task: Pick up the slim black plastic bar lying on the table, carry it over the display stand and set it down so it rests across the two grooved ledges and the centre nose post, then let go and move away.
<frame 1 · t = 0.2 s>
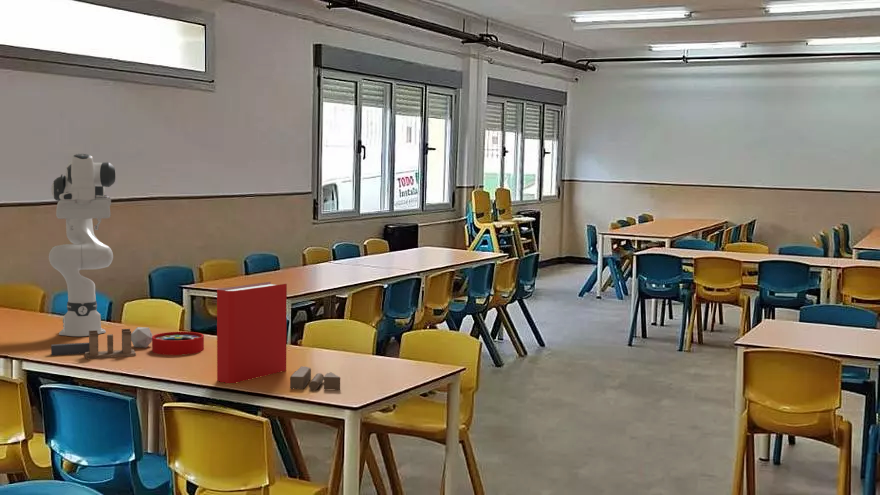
hand: (83, 230, 373), 47 cm above the table, tool pointing down, fingers open, 8 cm apart
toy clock: (178, 351, 376), on the table
book: (251, 376, 334), on the table
die: (141, 347, 381), on the table
display stand: (110, 355, 363), on the table
wooden block set: (318, 385, 323), on the table
frame bar: (70, 354, 365), on the table
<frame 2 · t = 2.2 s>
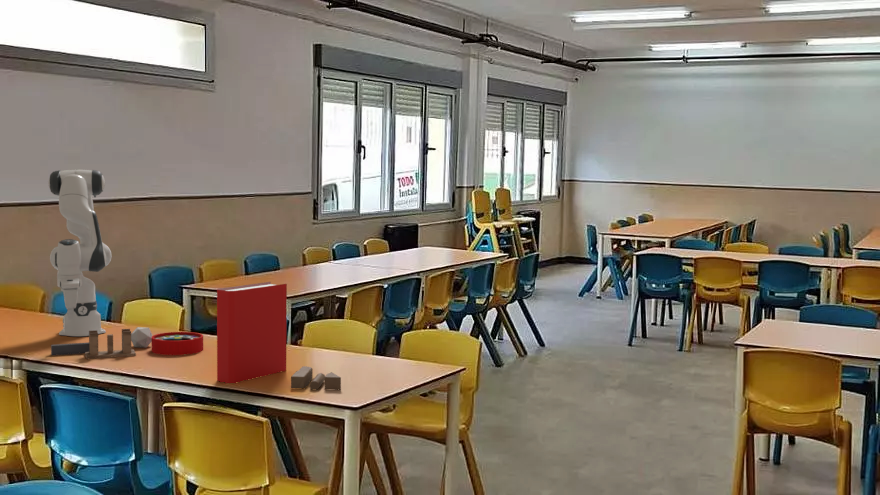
hand: (70, 317, 363), 14 cm above the table, tool pointing down, fingers open, 8 cm apart
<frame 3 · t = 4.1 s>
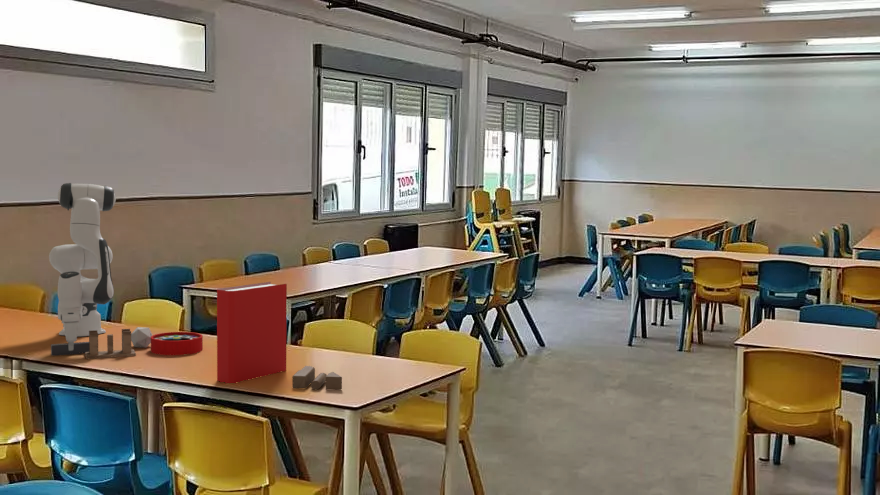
hand: (70, 349, 365), 2 cm above the table, tool pointing down, fingers closed on frame bar, 3 cm apart
frame bar: (70, 353, 365), on the table, touching gripper
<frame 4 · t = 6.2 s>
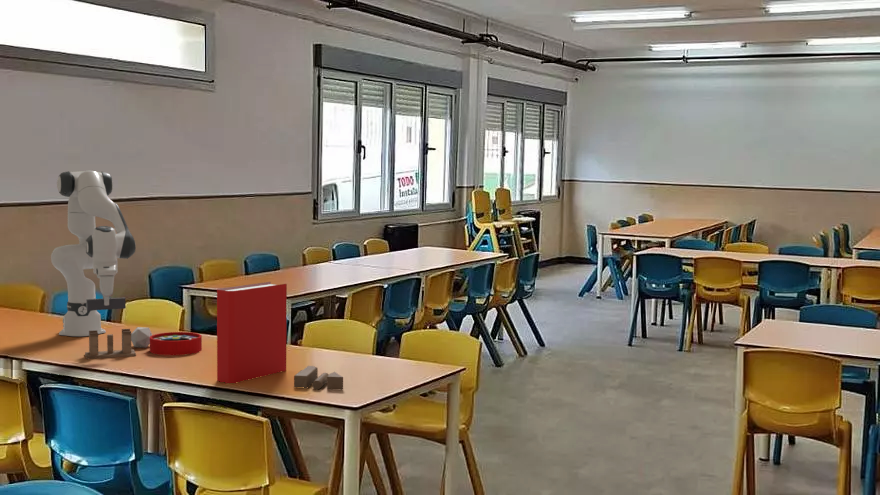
hand: (106, 304, 361), 20 cm above the table, tool pointing down, fingers closed on frame bar, 3 cm apart
frame bar: (106, 309, 361), point 18 cm above the table, touching gripper
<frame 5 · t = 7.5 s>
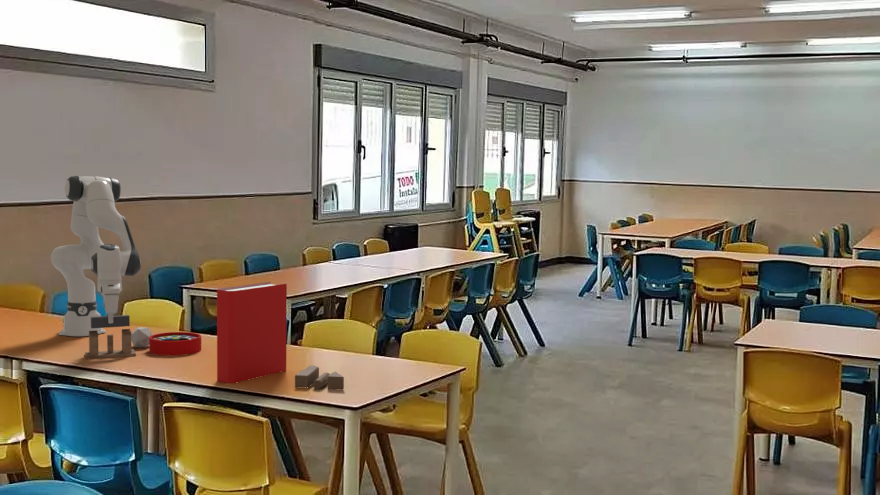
hand: (110, 322, 362), 13 cm above the table, tool pointing down, fingers closed on frame bar, 3 cm apart
frame bar: (110, 326, 362), point 11 cm above the table, touching gripper
when the fingers open (11 cm above the table, at t = 8.5 s): frame bar drops 1 cm, resting on display stand.
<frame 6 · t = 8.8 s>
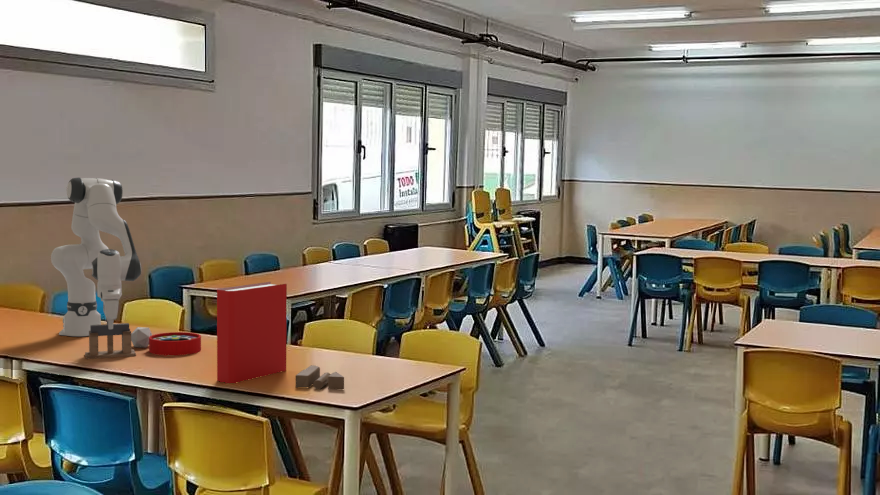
hand: (110, 327, 362), 11 cm above the table, tool pointing down, fingers open, 5 cm apart
frame bar: (109, 334, 363), point 8 cm above the table, touching display stand
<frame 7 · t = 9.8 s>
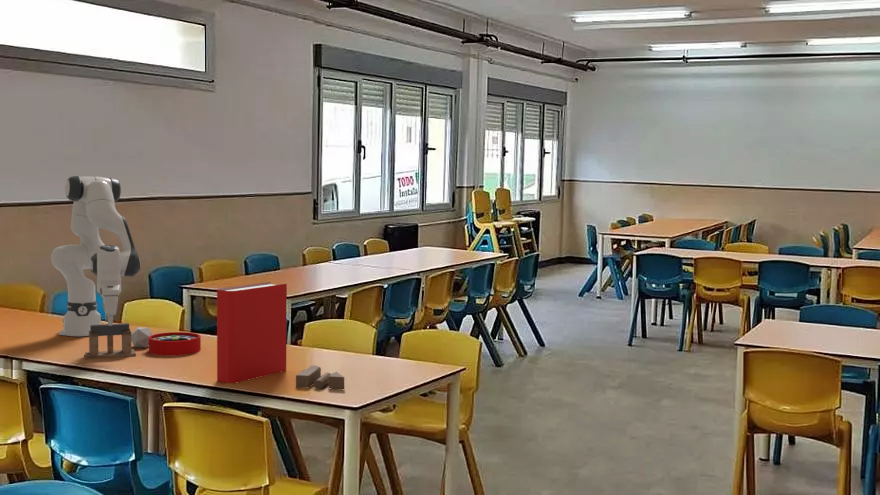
hand: (109, 323, 362), 13 cm above the table, tool pointing down, fingers open, 8 cm apart
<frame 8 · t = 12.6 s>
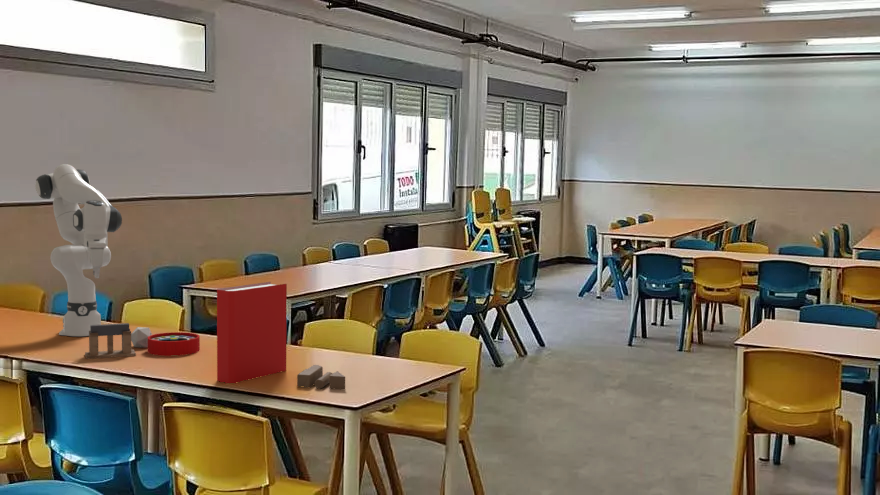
hand: (96, 276, 372), 29 cm above the table, tool pointing down, fingers open, 8 cm apart
at the end: frame bar 0.1 cm off-centre on the display stand, point 8.0 cm above the display stand's base; the gripper is holding nothing; frame bar tilted 0° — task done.
